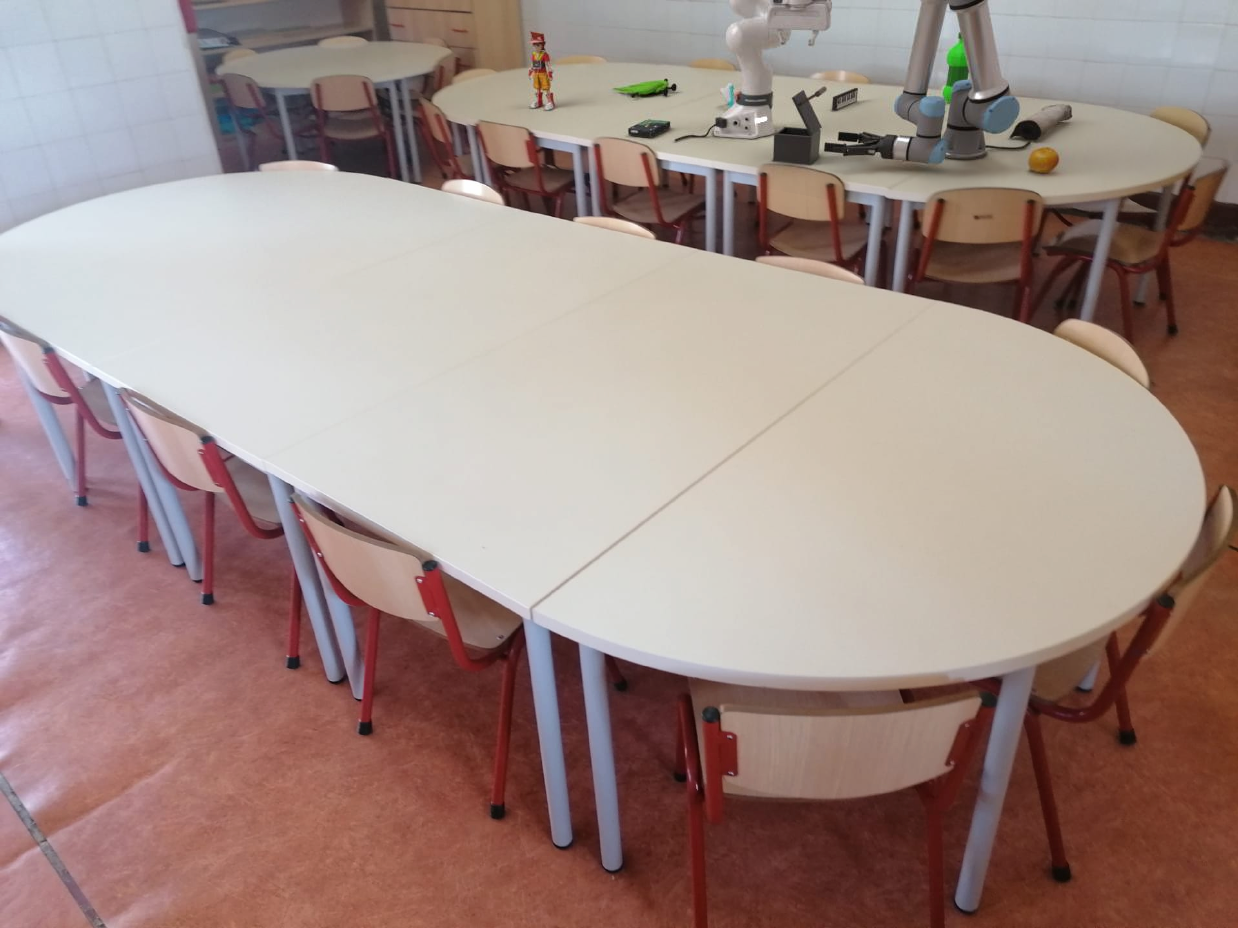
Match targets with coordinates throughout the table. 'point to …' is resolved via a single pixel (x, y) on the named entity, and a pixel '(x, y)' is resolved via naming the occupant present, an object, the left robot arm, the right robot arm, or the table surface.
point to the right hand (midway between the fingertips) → (831, 141)
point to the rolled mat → (1042, 122)
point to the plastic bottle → (955, 67)
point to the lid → (808, 110)
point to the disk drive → (649, 128)
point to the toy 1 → (541, 71)
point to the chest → (796, 145)
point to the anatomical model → (729, 94)
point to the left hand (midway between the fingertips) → (797, 45)
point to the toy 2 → (648, 88)
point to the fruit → (1043, 160)
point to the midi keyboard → (844, 98)
